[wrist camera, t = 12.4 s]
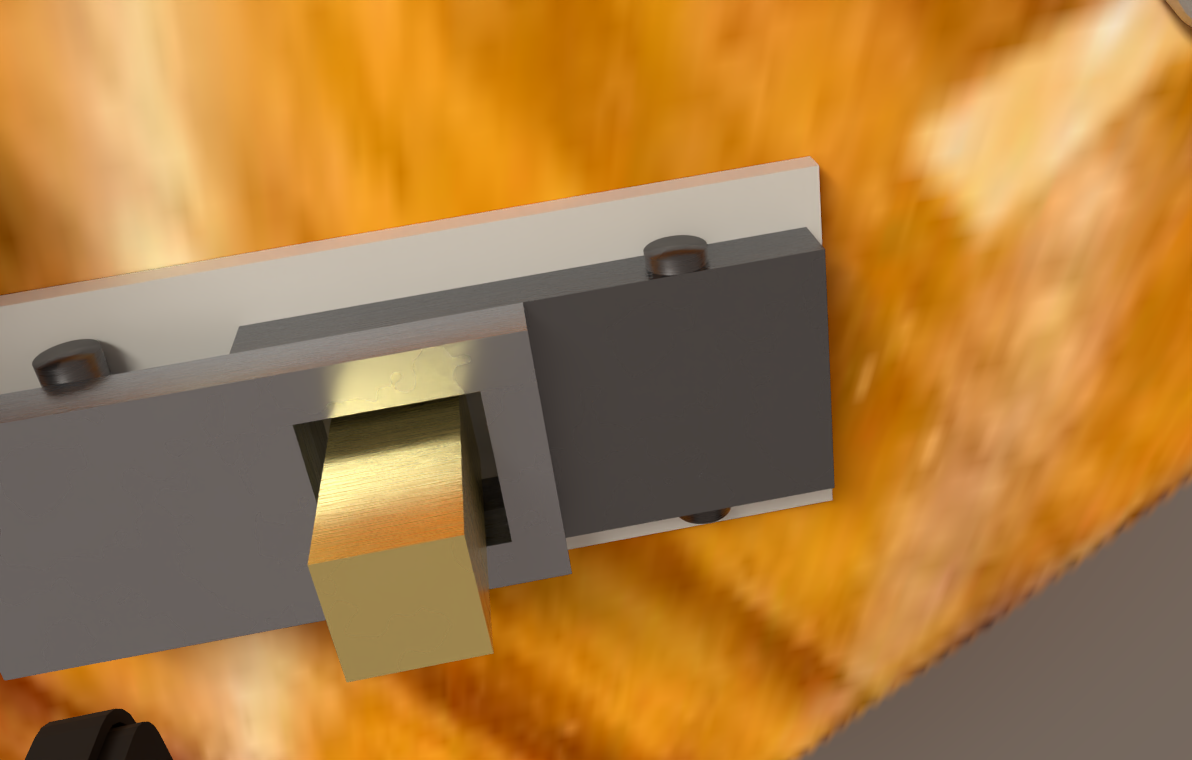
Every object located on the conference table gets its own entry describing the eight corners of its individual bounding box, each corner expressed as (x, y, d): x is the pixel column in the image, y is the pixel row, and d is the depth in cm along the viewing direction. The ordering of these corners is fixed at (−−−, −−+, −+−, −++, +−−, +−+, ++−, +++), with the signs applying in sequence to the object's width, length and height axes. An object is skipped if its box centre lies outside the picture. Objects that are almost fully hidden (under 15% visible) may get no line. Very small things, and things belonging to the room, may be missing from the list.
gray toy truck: (805, 212, 37) (845, 258, 33) (817, 469, 41) (853, 532, 38) (-70, 365, 35) (-126, 429, 32) (47, 612, 40) (10, 692, 36)
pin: (457, 358, 37) (464, 535, 29) (480, 458, 39) (493, 653, 31) (337, 380, 37) (307, 565, 28) (366, 480, 39) (346, 682, 30)
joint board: (809, 156, 37) (818, 165, 36) (824, 485, 43) (832, 500, 42) (-94, 311, 35) (-107, 325, 34) (57, 628, 42) (48, 646, 41)
